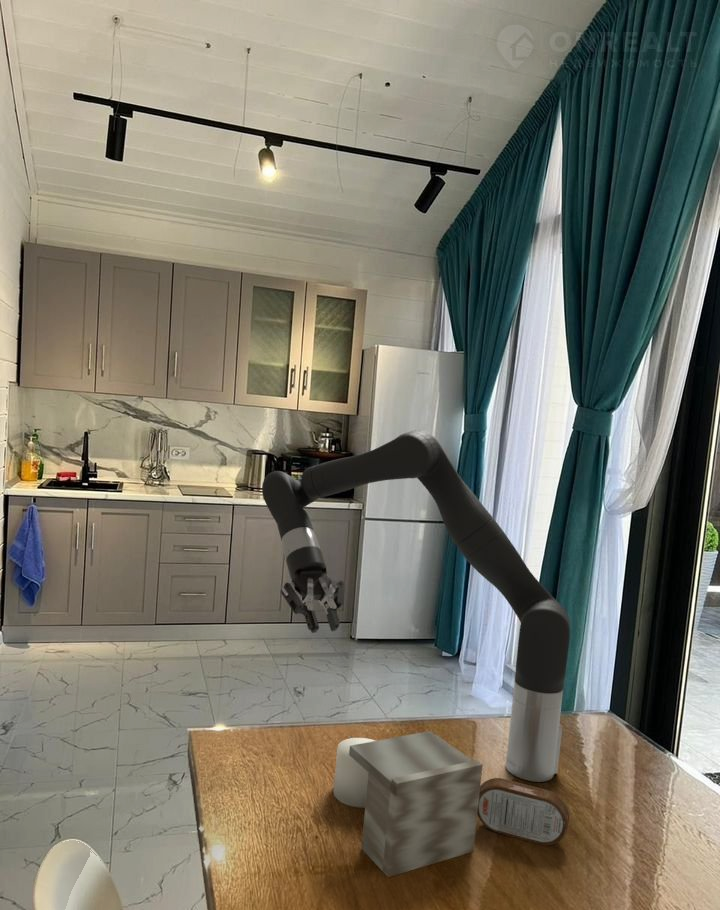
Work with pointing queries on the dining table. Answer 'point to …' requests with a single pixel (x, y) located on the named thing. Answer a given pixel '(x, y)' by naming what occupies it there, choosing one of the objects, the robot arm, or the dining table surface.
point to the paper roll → (350, 775)
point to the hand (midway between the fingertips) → (325, 629)
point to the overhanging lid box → (417, 801)
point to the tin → (522, 811)
